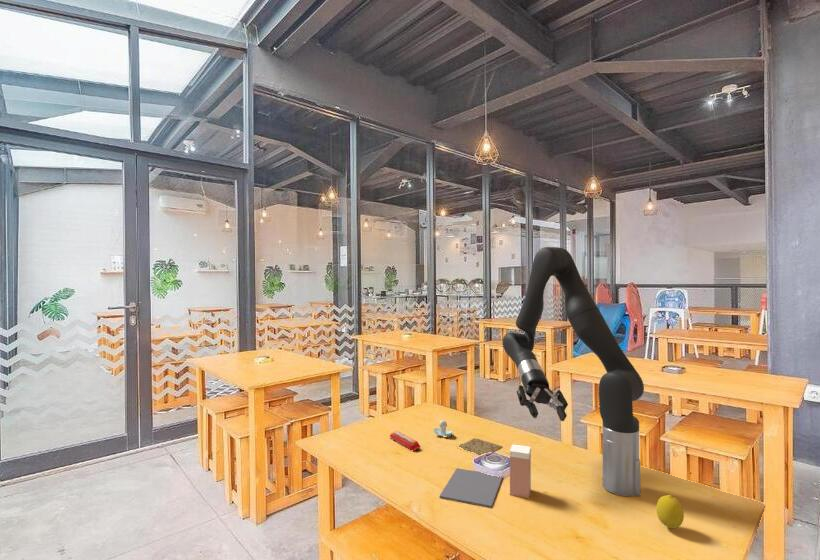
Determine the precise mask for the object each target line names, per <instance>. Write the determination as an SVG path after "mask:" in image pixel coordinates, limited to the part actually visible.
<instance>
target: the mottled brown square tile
mask: <svg viewBox="0 0 820 560" xmlns="http://www.w3.org/2000/svg"><path fill="white" fill-rule="evenodd" d="M476 438H477V437H475V438H471V439H470V440H469V441H466V442H464V443H460V444H459V445H458V446H459V447H461V448H463V449H464V450H463V451H465V450H467V451H466V452H468V451H470V452H469V453H471V452H474V453H476V454H475V455H477V454H478V455H477V456H479V455H481V454H484V453H488V452H493V453H495V452H496V451H497V452H498V451H499V450H500V449H502V448H504V446H503V445H499V444H496V443H493V442H489V441H486V440H483V439H480V438H477V439H476ZM474 453H473V454H474Z"/></svg>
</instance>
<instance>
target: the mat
mask: <svg viewBox="0 0 820 560" xmlns="http://www.w3.org/2000/svg"><path fill="white" fill-rule="evenodd" d="M481 472H482V471H476V470H472V469H471V470H470V469H466V468H460V467H459V468H458V467H456V469H455V470H454V472H453V474H452V475H451V477H450V478H449V480H448V481H447V483H446V485H445V486H444V488H443V490H441V491H442V492H441V493H440V494H439V496H438V497H439V498H440V499H444V500H450V501H454V502H460V503H465V504H471V505H476V506H481V507H485V508H492V507H493V504H494V501H495V499H496V498H497V497H496V496H497V493H498V491H499V488H500V485H501V483H502V480H503V478H502V476H503V475H502V476H501V477H500V476H499V477H497V476H491V475H487V474H484V473H485V472H484V473H481Z"/></svg>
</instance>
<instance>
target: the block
mask: <svg viewBox="0 0 820 560" xmlns="http://www.w3.org/2000/svg"><path fill="white" fill-rule="evenodd" d="M531 449H532V447H531V446H527V445H518V444H512V445H511V447H510V450H509V496H515V497H519V498H525V499H529V498H530V495H531V490H532V488H531V487H532V486H531V485H532V483H531V482H532V481H531V480H532V479H531V478H532V477H531V476H532V475H531V473H532V471H531V470H532V468H531V466H532V465H531V464H532V462H531V460H532V459H531V457H532V453H531V452H532V451H531Z"/></svg>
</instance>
